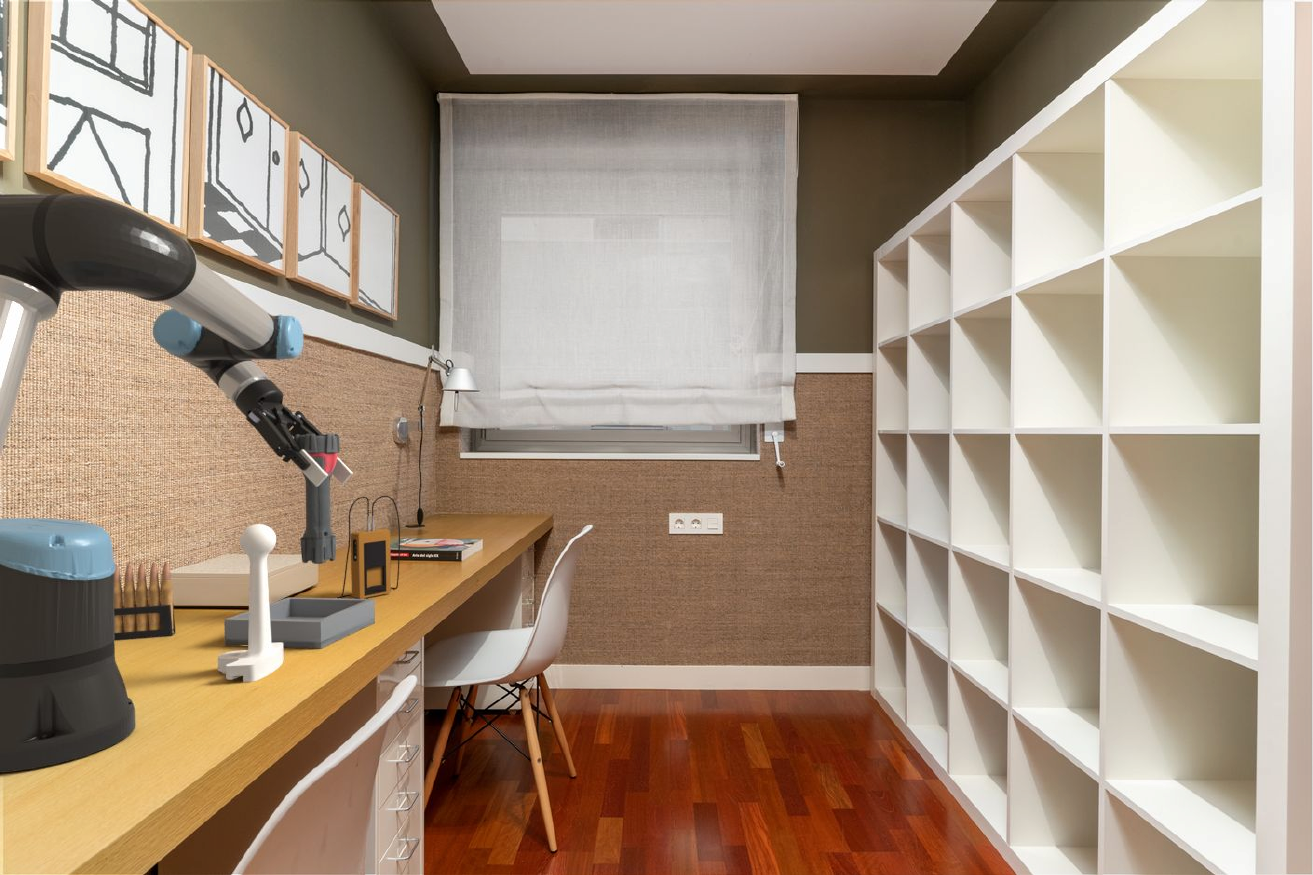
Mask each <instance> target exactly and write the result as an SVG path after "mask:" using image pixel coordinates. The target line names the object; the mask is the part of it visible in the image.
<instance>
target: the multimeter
mask: <svg viewBox="0 0 1313 875" xmlns="http://www.w3.org/2000/svg"><path fill="white" fill-rule="evenodd" d="M382 498H389V499H390V500H391V501H392V503H393V504H394V508H395V511H396V516H397V517H396V518H397V524H398V525H397V527H398V528H397V529H398V552H397V553H398V554H397V555H398V558H397V559H398V560H397V576H396V578H397V579H396V587H392V586H391V585H392V584H391V582H392V581H391V580H392V579H391V578H392V577H391V574H392V573H391V572H392V571H391V570H392V569H391V568H392V555H391V530H390V529H389V528H387V529H386V528H375V527H376V526H375V519H374V518H375V517H374V505H375V503H376V502H377V501H378V500H379V499H382ZM361 499H366V501H367V502H366V503H367V504H366V505H367V506H366V509H367V513H366V514H367V517H366V518H367V519H366V530H361V531H353V532H352V531H351V512H352V510H353V509H352V508H353V507H354V505H355V503H356V501H358V500H361ZM369 503H370V501H369V498H368V497H367V496H360V497H357V498H356V499H355V500H354V501H353V502H352V503H351V505H350V508H349V512H348V546H347V547H348V548H347V552H346V560H345V570H344V578H343V586H342V592H341V596H338V597H337V598H338V599H344V598H345V597H351V598H352V599H369V598H373V597H377V596H382V595H384V596H386V595H390V593H391V592H392V590H397V589H398V587H399V579H400V578H399V577H400V576H399V575H400V561H401V560H400V559H401V557H400V556H401V550H400V549H401V530H400V529H401V528H400V526H401V525H400V518H399V511H398V508H397V505H396V502H395V500H394V498H392V497H391V496H389V495H381V496H379V497H377V498H376V499H375V500H374V501H373V503H372V504H371V523H370V514H369V513H370V512H369V511H370V510H369V509H370V504H369ZM349 555H350V568H351V570H350V571H351V572H350V573H351V579H350V580H351V594H346V595H344V593H345V587H346V580H347V570H348V564H349V562H348V561H349Z"/></svg>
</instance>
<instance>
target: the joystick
mask: <svg viewBox="0 0 1313 875" xmlns="http://www.w3.org/2000/svg"><path fill="white" fill-rule="evenodd" d="M276 542H277V535H276V533H275V531H274V529H272V528H271V527H270V526H268V525H266V524H262V523H257V524H256V523H255V524H252V525H250V526H247V528H245V529H244V530H243V531H242V533H241V534H240V538H239V546H240V548H241V550H242V551H243V552H244V553H245V555H247V557H248V559H249V588H248V590H249V594H248V596H249V597H248V599H249V600H248V611H249V631H248V646H247V650H244V649H243V650H231V651H227V652H223V653H221V654H219V655H217V671H218V672H221V674H223V675H225V679H226V680H234V679H237V678H239V677H242V682H243V683H251V682H256V681H258V680H260V679H262V678H265V677H266V676H269V675H271V674H272V673H274V672H275V671H277V670H278V669H279V668H281V666H282V664H283V663H284V656H285V655H284V647H283V643H282V642H278V643H271V626H270V608H269V604H270V594H269V593H270V592H269V573H268V557H269V554H270V553H271V552H272V551H273V549H274V548H275V546H276V544H277V543H276Z"/></svg>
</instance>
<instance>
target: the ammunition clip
mask: <svg viewBox="0 0 1313 875" xmlns="http://www.w3.org/2000/svg"><path fill="white" fill-rule="evenodd" d="M169 565H170V564H169V563H168V561H165V562H164V564H163V566H162V572H161V586H160V581H159V580H160V579H159V571H158V567H157V564H156V561H154V562H152V563H151V566H150V570H149V580H148V581H149V584H148V583H147V574H146V572H147V571H146V569H145V566H144V563H142V562H141V563H139V565H138V570H137V575H136V576H137V577H136V588H135V581H134V579H135V578H134V571H133V568H132V565H131V564H130V563H127V565H126V567H125V572H124V585H123V586H124V587H123V588H122V580H121V579H122V578H121V577H122V576H121V571H120V568H119V566H118V564H117V563H115V566H116V568H115V572H114V642H116V641H126V640H127V641H128V640H129V641H130V640H140V639H155V638H166V637H172V636H173V635H175V634H176V632H177V631H176V621H175V620H176V619H175V607H174V601H173V600H174V599H173V598H174V597H173V585H172V578H171V574H172V573H171V569H170V568H171V567H170V566H169Z"/></svg>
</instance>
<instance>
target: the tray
mask: <svg viewBox="0 0 1313 875" xmlns="http://www.w3.org/2000/svg"><path fill="white" fill-rule="evenodd" d="M375 601H376V600H375V599H374V598H371V599H370V598H365V599H356V598H342V599H341V598H339V599H338V597H336V598H334V597H333V598H332V597H331V598H328V597H324V598H323V597H289V596H287V597H285V598H284V599H280V600H277V601H273V602H271V603H269V608H270V626H271V643H278V642H282V643H283V648H289V649H290V648H293V649H296V648H297V649H298V648H299V649H319V650H320V649H324V648H325V647H327V646H329V645H331V644H334V643H336V642H337V641H340V640H342V639H344V638H346V637H348V636H350V635H353V634H355V633H356V632H358V631H360V630H363V629H365V628H367V627H369V626H372V625H373V624H375V623H376V611H375V610H376V605H375V604H376V602H375ZM223 622H224V624H223V625H224V646H225V645H248V631H249V610H248V611H245V612H243V613H239V614H237V615H234V616H231V617H227V618H224V620H223Z"/></svg>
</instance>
